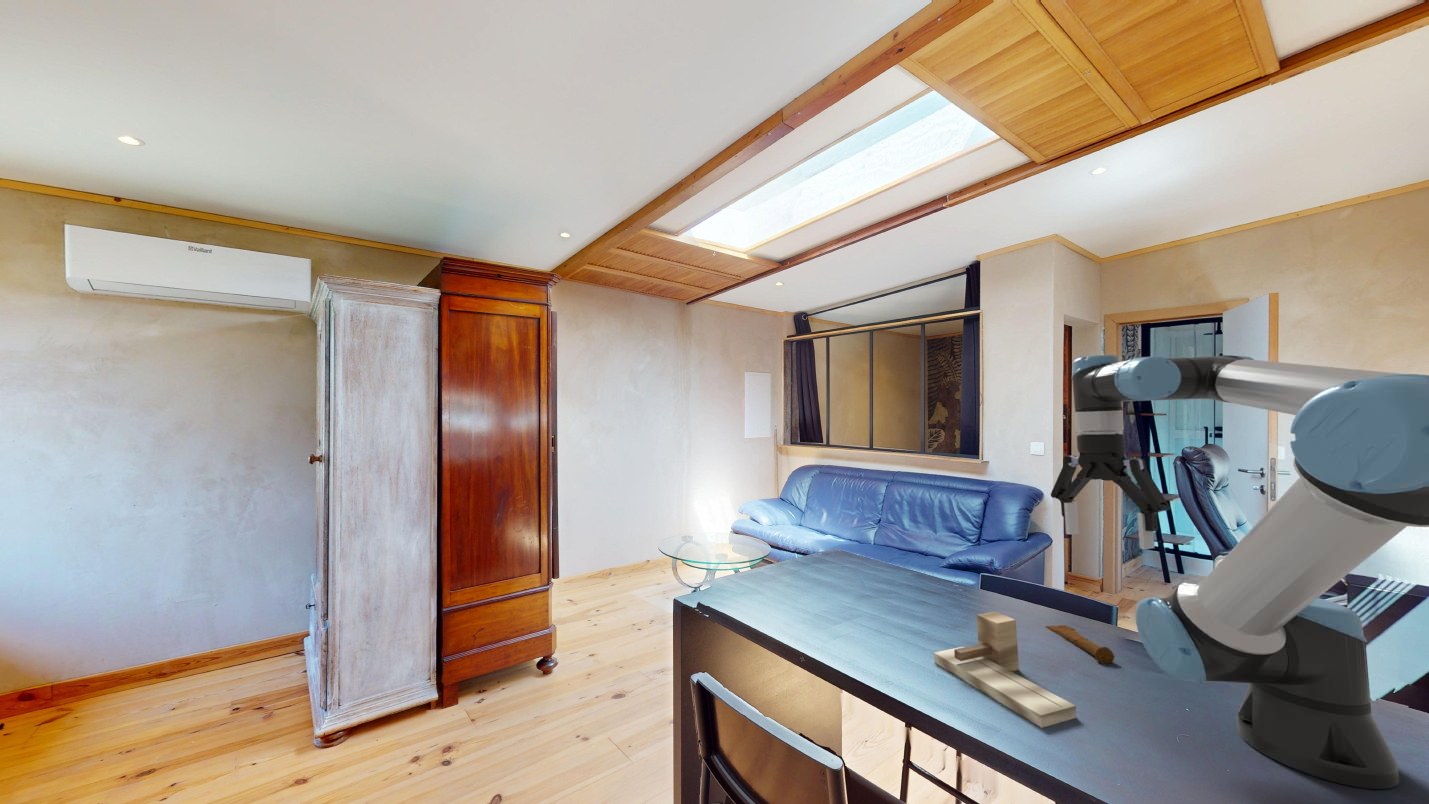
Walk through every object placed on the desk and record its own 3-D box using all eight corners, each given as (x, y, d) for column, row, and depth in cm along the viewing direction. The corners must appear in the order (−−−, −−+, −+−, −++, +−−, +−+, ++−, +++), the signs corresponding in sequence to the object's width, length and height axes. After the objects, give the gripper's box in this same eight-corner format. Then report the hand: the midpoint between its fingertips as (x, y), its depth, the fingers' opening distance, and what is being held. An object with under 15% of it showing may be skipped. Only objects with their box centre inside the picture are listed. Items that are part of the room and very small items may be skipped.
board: (1076, 717, 82) (1075, 705, 82) (1041, 727, 80) (1040, 715, 80) (964, 655, 105) (963, 646, 105) (934, 662, 102) (933, 652, 103)
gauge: (1018, 669, 98) (1015, 619, 99) (968, 681, 94) (965, 629, 95) (997, 658, 103) (994, 611, 104) (949, 669, 99) (946, 620, 100)
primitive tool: (1044, 627, 119) (1043, 613, 119) (1067, 628, 118) (1066, 613, 119) (1097, 666, 100) (1097, 648, 100) (1126, 667, 99) (1125, 649, 100)
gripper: (1189, 432, 86) (1199, 553, 84) (1052, 432, 109) (1059, 527, 108) (1161, 433, 83) (1170, 558, 82) (1028, 433, 107) (1034, 530, 106)
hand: (1107, 540), depth 95 cm, fingers open, 13 cm apart
